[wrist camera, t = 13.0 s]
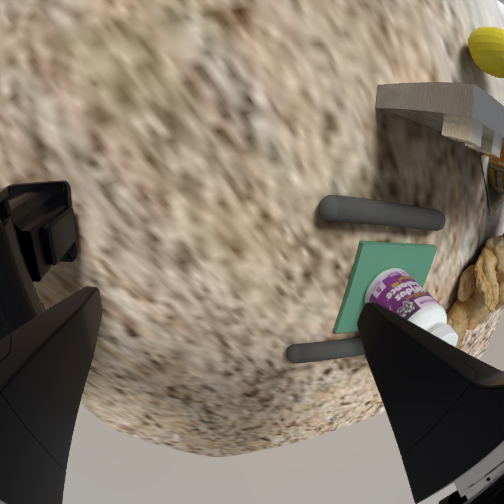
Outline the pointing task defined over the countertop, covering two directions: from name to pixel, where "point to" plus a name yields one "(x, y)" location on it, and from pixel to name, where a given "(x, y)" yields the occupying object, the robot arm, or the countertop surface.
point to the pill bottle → (410, 302)
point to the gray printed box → (450, 112)
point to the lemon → (488, 50)
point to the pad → (373, 263)
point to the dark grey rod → (379, 213)
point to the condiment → (493, 182)
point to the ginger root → (479, 289)
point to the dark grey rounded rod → (325, 350)
